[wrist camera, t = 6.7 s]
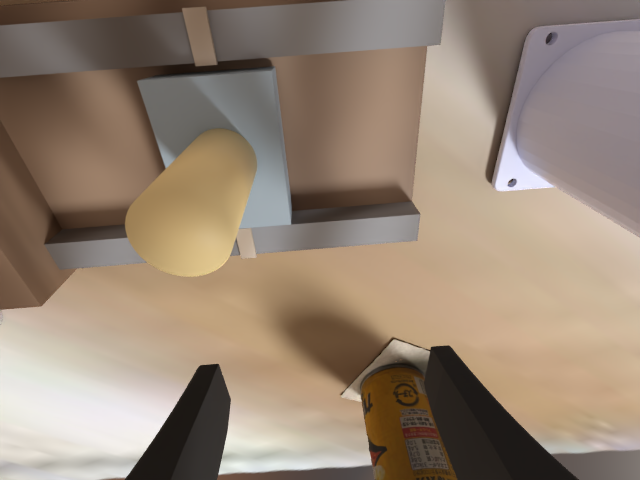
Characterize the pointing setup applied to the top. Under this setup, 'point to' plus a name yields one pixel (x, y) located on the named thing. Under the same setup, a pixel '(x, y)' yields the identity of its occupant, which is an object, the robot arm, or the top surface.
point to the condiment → (400, 416)
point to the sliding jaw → (210, 167)
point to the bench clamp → (140, 142)
